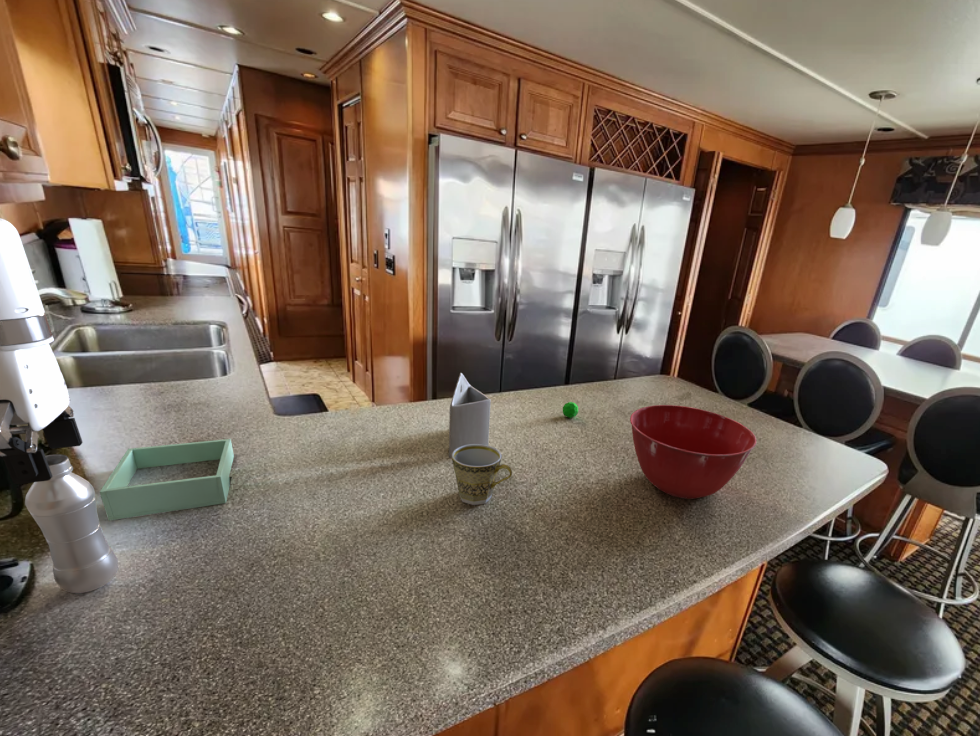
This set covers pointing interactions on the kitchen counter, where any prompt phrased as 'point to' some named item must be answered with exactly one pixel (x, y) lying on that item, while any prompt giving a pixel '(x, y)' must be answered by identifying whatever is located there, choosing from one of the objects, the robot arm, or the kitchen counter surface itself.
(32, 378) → the robot arm
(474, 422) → the planter
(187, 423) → the kitchen counter surface
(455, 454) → the ceramic cup
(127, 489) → the mint green tray frame
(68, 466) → the plastic bottle
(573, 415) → the polyhedron
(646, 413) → the mixing bowl
